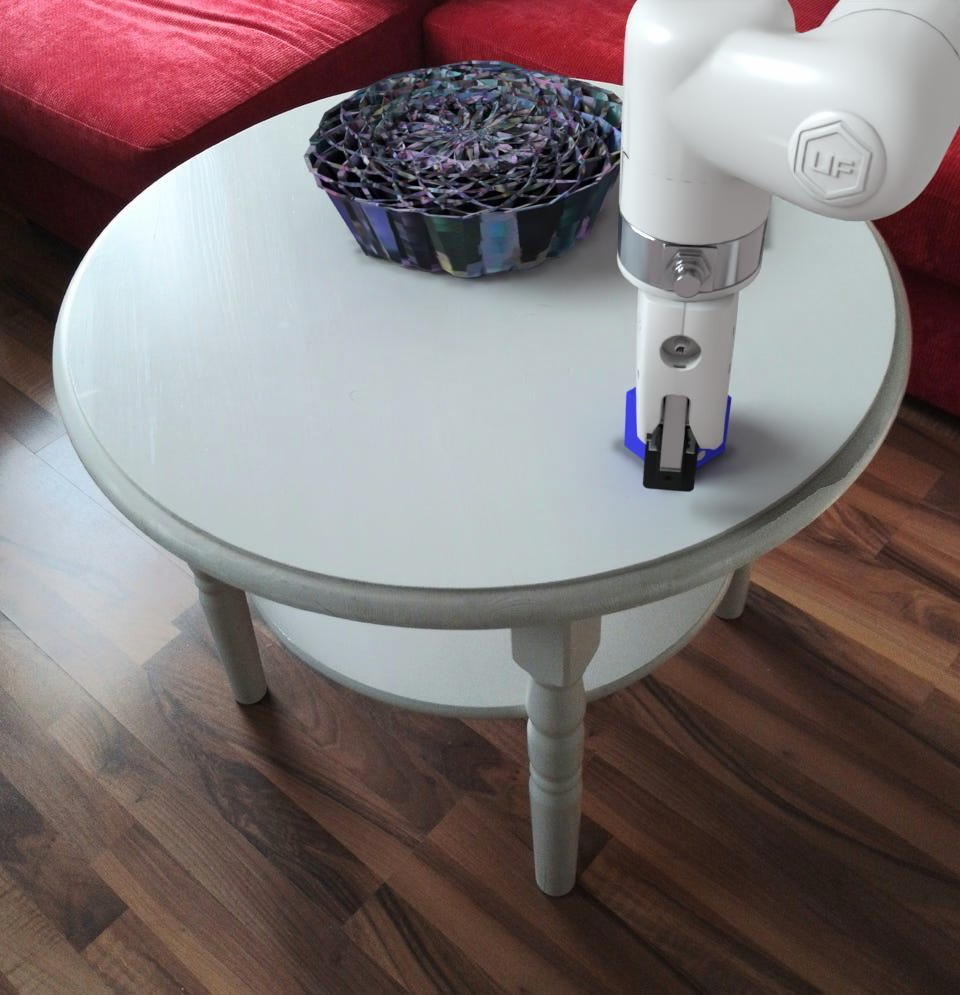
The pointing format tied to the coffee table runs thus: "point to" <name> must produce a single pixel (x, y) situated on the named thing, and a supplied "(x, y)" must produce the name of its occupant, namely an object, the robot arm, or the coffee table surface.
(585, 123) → the decorative bowl
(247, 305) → the coffee table surface
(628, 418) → the die
